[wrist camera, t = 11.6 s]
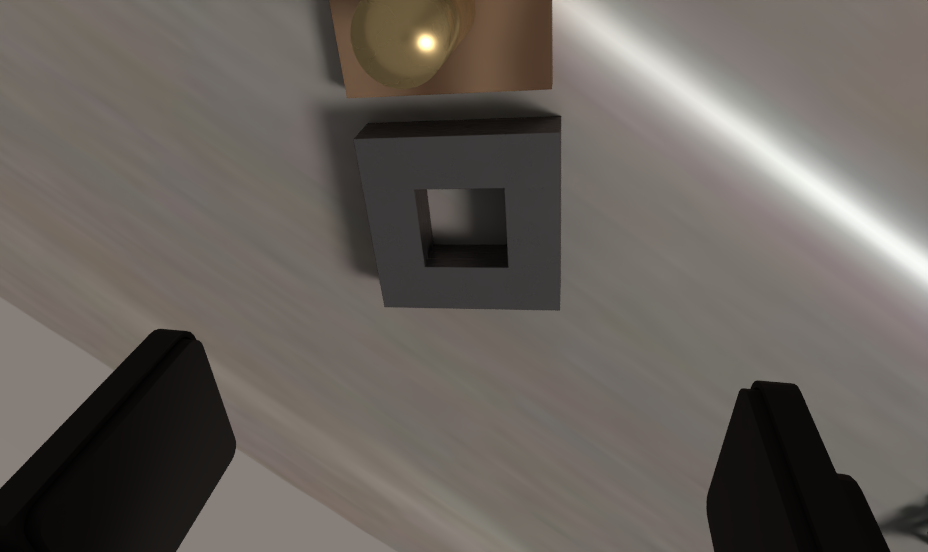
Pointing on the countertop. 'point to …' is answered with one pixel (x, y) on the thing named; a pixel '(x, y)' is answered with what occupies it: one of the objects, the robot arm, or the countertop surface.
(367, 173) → the grey square frame
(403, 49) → the key peg
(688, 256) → the countertop surface
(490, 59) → the board
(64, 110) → the countertop surface
